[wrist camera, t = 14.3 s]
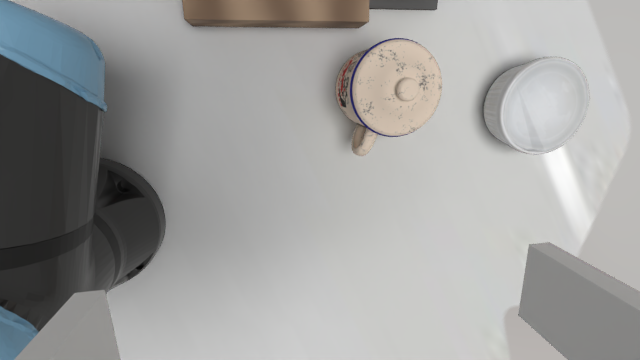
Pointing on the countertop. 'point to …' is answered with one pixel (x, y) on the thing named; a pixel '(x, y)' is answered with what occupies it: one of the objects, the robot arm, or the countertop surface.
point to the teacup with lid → (388, 90)
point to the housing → (277, 13)
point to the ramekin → (537, 105)
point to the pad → (403, 4)
